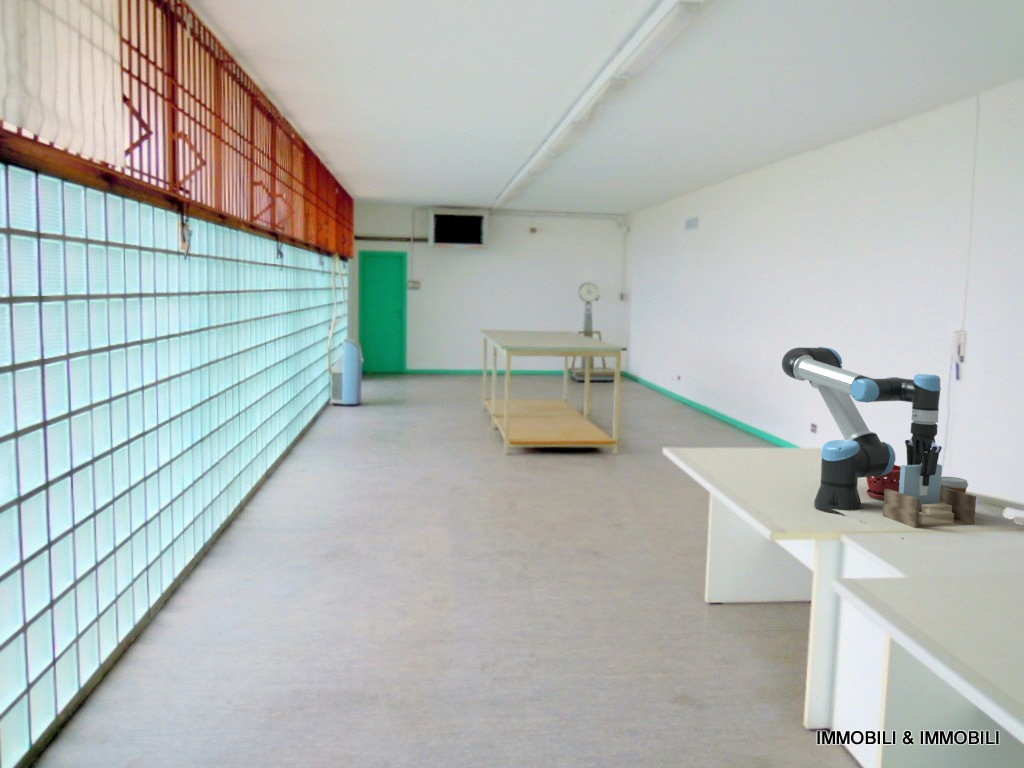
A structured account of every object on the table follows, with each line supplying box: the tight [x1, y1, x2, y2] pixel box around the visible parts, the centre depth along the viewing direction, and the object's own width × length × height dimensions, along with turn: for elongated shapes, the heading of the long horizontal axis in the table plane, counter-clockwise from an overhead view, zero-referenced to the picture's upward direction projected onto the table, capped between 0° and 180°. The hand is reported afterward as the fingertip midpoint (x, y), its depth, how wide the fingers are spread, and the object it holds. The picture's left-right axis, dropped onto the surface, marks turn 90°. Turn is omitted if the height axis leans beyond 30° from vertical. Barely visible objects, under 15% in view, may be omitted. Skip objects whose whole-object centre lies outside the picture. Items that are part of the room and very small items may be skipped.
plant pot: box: [865, 464, 901, 500], centre depth 277 cm, size 13×13×12 cm
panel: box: [899, 463, 943, 509], centre depth 245 cm, size 2×14×16 cm, turn 103°
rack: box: [882, 486, 977, 529], centre depth 242 cm, size 14×22×10 cm, turn 103°
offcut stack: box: [918, 503, 954, 524], centre depth 239 cm, size 4×12×6 cm, turn 103°
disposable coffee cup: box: [941, 476, 969, 493], centre depth 255 cm, size 10×10×12 cm
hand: (919, 494), depth 245 cm, fingers closed on panel, 2 cm apart
